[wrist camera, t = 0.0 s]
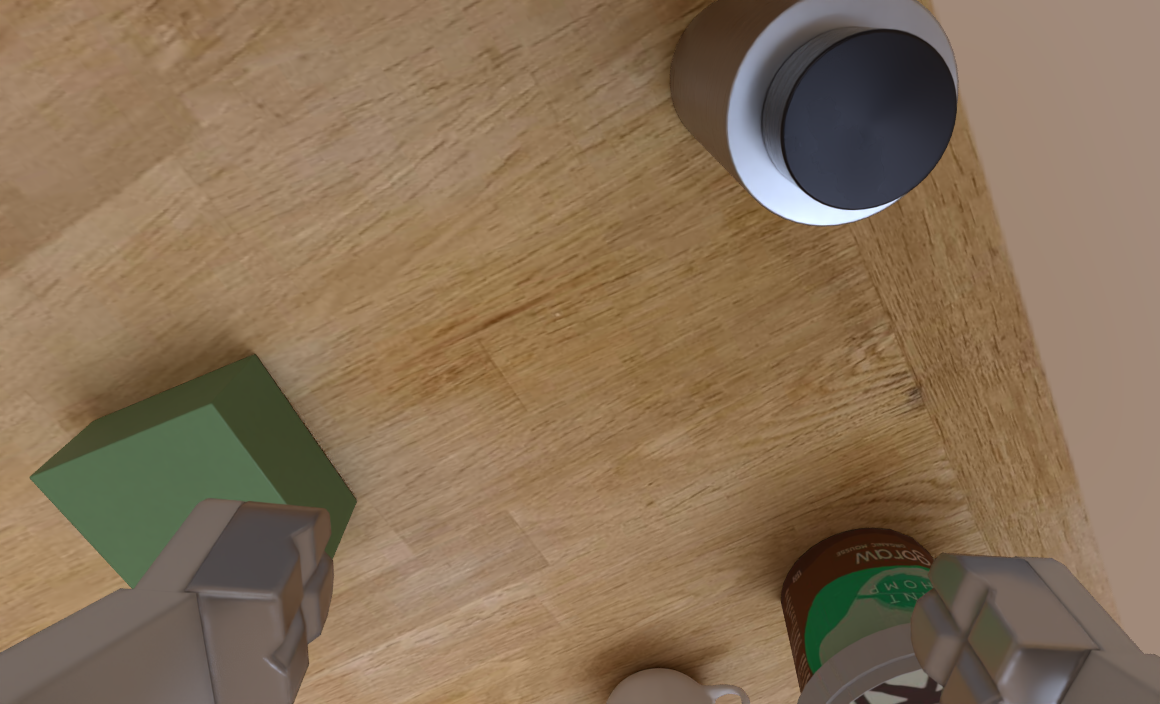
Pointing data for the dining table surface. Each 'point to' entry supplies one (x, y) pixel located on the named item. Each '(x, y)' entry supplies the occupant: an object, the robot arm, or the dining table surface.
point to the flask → (818, 101)
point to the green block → (189, 465)
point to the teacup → (669, 689)
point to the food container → (858, 619)
